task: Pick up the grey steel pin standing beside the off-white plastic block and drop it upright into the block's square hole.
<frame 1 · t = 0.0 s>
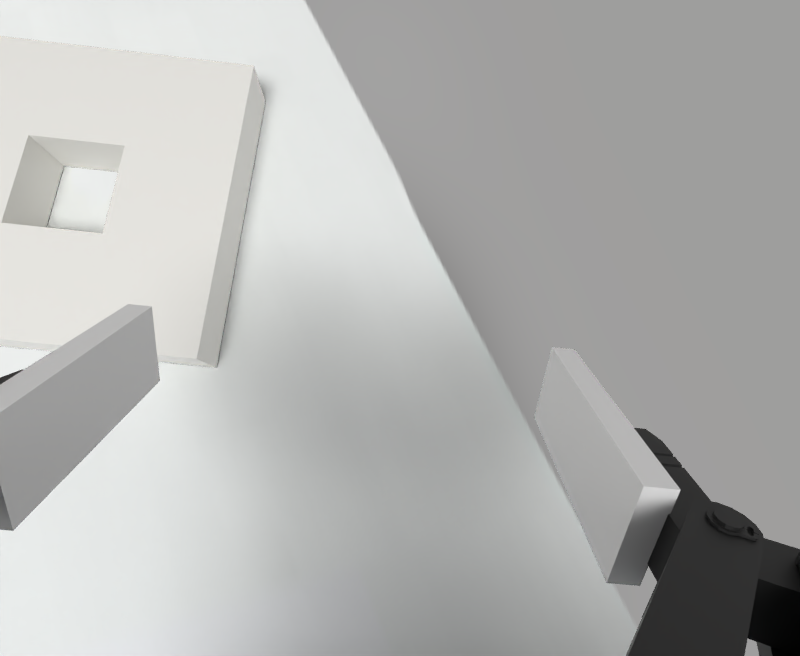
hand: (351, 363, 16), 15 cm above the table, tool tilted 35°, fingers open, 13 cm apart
socket block: (96, 209, 33), on the table
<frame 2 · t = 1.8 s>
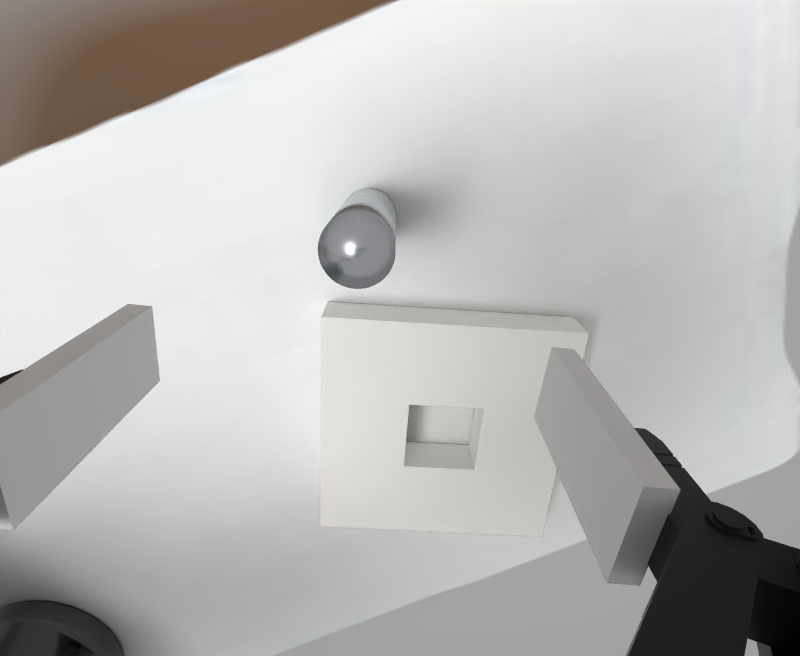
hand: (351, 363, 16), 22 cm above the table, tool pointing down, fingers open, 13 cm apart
socket block: (439, 415, 42), on the table
steel pin: (369, 215, 36), on the table
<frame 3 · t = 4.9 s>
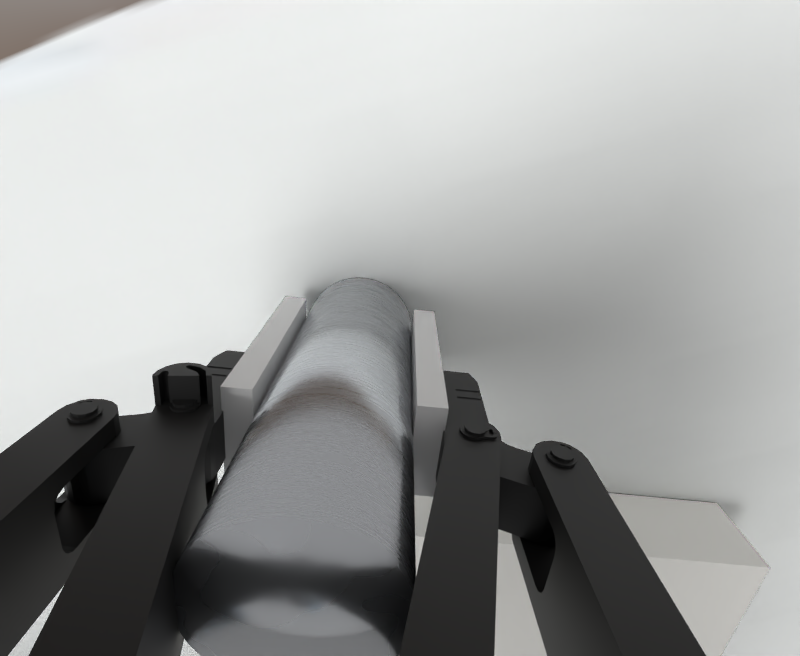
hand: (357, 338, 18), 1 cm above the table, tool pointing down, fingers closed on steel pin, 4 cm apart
socket block: (467, 629, 26), on the table
steel pin: (360, 326, 19), on the table, touching gripper
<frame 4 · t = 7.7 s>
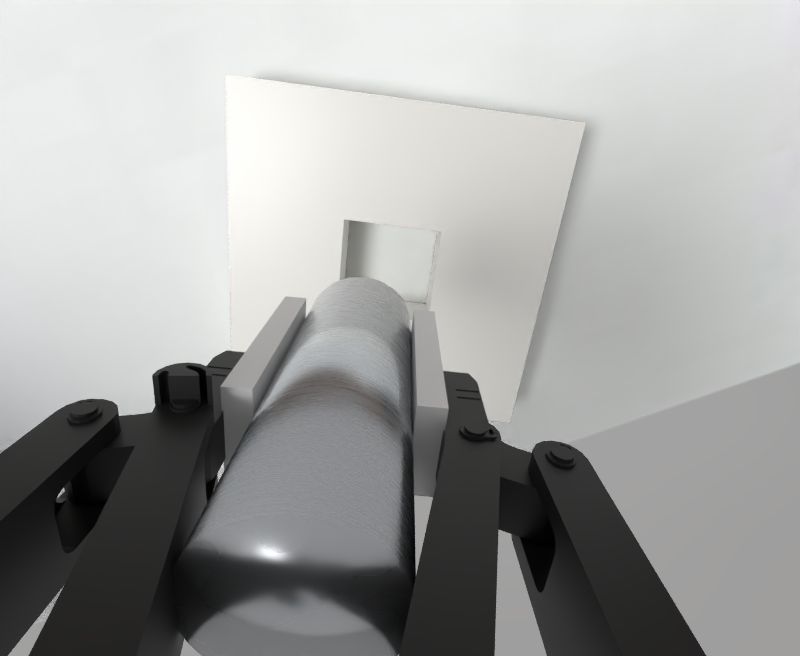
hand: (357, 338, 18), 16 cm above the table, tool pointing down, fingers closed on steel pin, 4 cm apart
socket block: (389, 258, 33), on the table
steel pin: (360, 325, 19), point 15 cm above the table, touching gripper
when the fingers open (6 cm above the table, at t = 10.8 s): steel pin drops 5 cm, resting in socket block.
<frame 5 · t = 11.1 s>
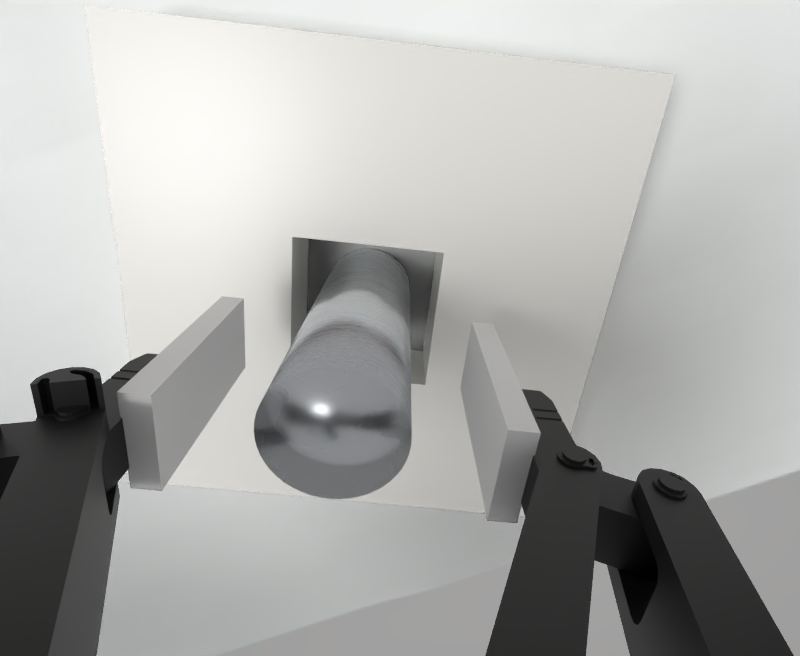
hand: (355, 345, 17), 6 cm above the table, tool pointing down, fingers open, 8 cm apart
socket block: (369, 289, 23), on the table
steel pin: (368, 289, 23), resting in socket block
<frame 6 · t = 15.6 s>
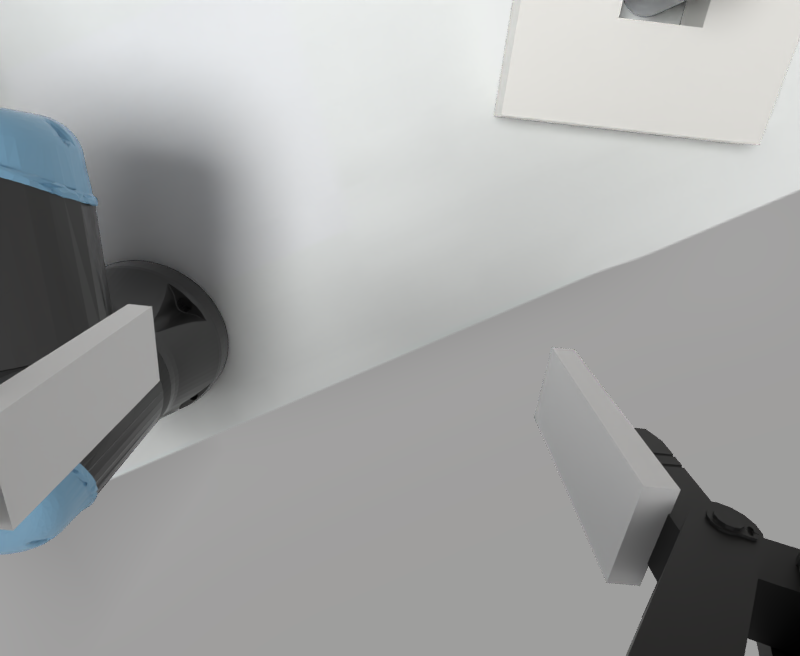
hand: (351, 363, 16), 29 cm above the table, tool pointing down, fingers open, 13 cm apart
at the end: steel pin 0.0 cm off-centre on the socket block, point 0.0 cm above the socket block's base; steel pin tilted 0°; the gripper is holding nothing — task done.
